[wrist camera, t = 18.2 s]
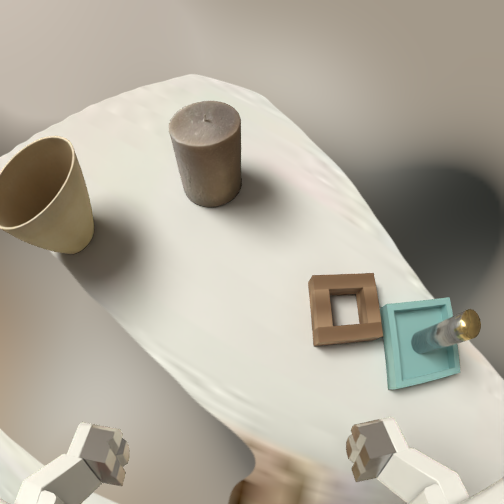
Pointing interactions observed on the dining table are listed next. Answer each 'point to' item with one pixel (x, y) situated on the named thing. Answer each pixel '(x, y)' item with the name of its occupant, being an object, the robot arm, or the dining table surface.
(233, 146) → the pillar candle
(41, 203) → the plant pot
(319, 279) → the walnut collar
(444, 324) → the metal peg
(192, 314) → the dining table surface
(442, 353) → the teal tray
